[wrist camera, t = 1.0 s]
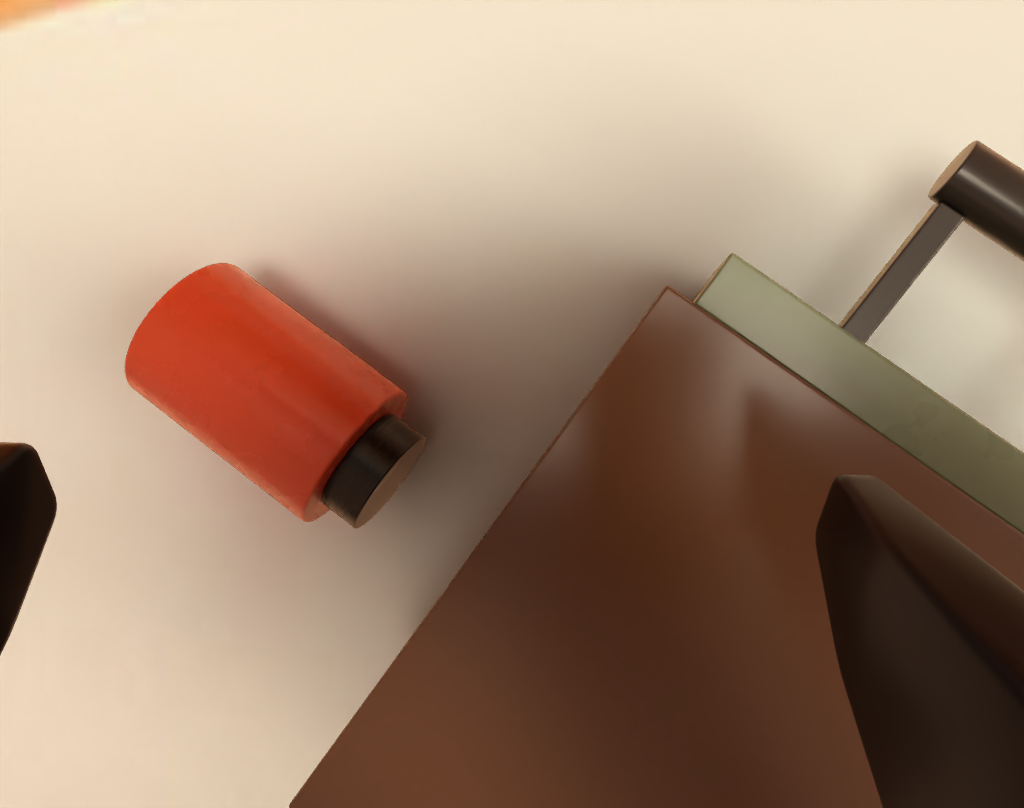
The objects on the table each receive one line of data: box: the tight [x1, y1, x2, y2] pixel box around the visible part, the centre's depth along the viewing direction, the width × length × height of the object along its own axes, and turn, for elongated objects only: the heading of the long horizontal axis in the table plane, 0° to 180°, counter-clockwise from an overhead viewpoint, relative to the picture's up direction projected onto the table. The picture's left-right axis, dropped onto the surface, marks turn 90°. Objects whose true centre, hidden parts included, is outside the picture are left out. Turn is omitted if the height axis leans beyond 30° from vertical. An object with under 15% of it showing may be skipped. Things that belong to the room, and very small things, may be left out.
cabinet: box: [289, 286, 1024, 808], centre depth 20 cm, size 14×13×9 cm
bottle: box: [125, 263, 426, 528], centre depth 23 cm, size 8×5×5 cm, turn 56°
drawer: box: [693, 141, 1024, 534], centre depth 19 cm, size 17×11×7 cm, turn 146°
